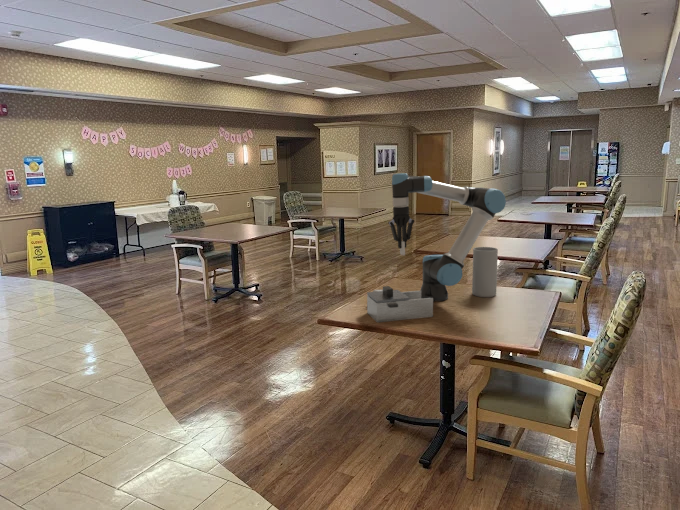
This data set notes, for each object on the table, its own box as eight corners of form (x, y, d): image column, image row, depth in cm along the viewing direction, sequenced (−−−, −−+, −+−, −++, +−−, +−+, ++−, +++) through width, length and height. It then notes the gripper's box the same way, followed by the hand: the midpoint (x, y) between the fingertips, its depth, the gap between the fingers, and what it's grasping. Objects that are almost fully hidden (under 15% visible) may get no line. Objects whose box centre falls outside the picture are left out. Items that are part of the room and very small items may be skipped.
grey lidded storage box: (418, 306, 260) (418, 289, 258) (434, 317, 242) (434, 299, 240) (366, 312, 253) (365, 294, 252) (378, 323, 235) (378, 304, 234)
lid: (397, 291, 254) (397, 282, 253) (409, 299, 239) (409, 290, 238) (367, 294, 250) (367, 285, 249) (377, 302, 235) (377, 293, 234)
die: (382, 310, 258) (392, 293, 259) (367, 301, 258) (376, 284, 260) (381, 311, 266) (390, 294, 268) (366, 302, 267) (375, 286, 268)
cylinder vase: (470, 291, 287) (472, 246, 282) (494, 291, 285) (495, 246, 280) (473, 297, 275) (474, 251, 270) (497, 297, 273) (499, 251, 268)
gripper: (410, 204, 253) (411, 251, 258) (385, 206, 249) (387, 254, 254) (416, 205, 246) (418, 254, 251) (391, 208, 242) (393, 257, 247)
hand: (402, 254), depth 252 cm, fingers closed
